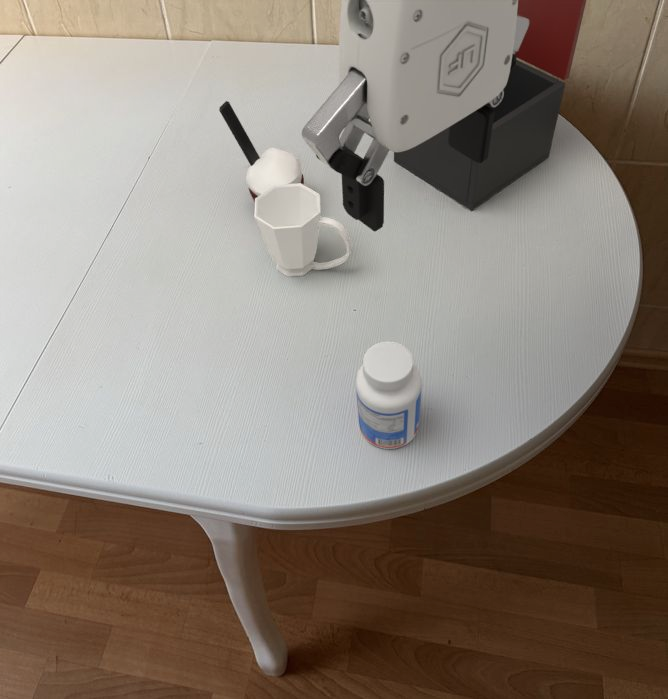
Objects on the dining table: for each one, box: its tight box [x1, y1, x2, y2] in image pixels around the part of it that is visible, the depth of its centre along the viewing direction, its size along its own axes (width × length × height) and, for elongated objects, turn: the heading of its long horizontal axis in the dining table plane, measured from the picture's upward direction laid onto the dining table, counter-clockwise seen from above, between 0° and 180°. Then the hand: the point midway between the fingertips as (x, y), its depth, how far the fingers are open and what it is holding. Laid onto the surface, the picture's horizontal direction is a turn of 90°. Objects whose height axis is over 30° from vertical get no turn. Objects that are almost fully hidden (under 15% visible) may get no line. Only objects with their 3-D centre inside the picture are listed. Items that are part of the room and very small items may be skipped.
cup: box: [253, 183, 353, 278], centre depth 72 cm, size 7×10×8 cm
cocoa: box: [218, 100, 305, 202], centre depth 77 cm, size 10×6×12 cm, turn 38°
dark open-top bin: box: [393, 59, 566, 212], centre depth 81 cm, size 14×13×10 cm
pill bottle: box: [355, 340, 422, 450], centre depth 59 cm, size 6×5×10 cm
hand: (417, 184), depth 47 cm, fingers open, 9 cm apart
